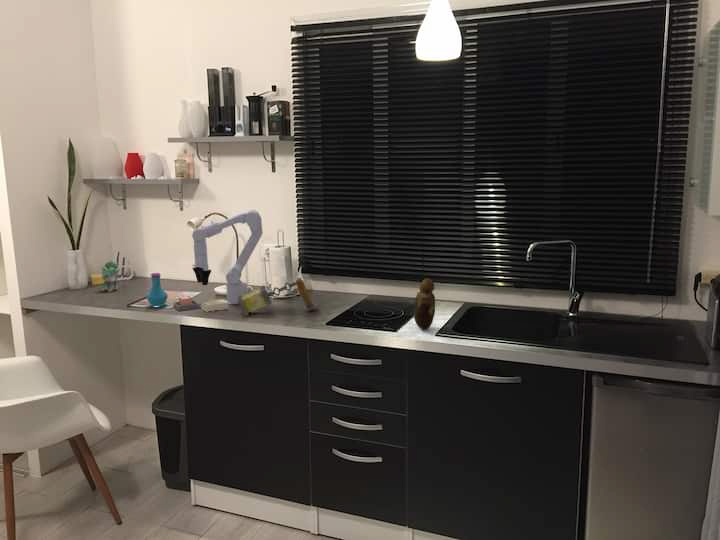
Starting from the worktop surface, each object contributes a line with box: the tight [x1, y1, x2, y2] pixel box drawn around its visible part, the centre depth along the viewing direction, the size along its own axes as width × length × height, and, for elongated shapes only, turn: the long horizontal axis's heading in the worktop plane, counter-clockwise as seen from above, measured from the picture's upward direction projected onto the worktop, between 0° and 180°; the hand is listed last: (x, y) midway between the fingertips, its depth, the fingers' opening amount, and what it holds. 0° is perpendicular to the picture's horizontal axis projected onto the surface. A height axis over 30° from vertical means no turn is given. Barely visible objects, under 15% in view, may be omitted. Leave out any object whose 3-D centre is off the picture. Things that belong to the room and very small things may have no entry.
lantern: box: [237, 277, 318, 317], centre depth 271 cm, size 8×17×30 cm
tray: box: [173, 299, 200, 312], centre depth 282 cm, size 9×9×2 cm
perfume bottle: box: [146, 272, 169, 307], centre depth 285 cm, size 9×9×15 cm
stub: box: [178, 295, 193, 306], centre depth 281 cm, size 4×5×4 cm
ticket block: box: [200, 298, 229, 313], centre depth 278 cm, size 10×7×3 cm
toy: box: [101, 260, 120, 293], centre depth 318 cm, size 8×9×15 cm
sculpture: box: [413, 278, 436, 330], centre depth 241 cm, size 13×8×20 cm, turn 167°
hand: (202, 283), depth 287 cm, fingers open, 7 cm apart
